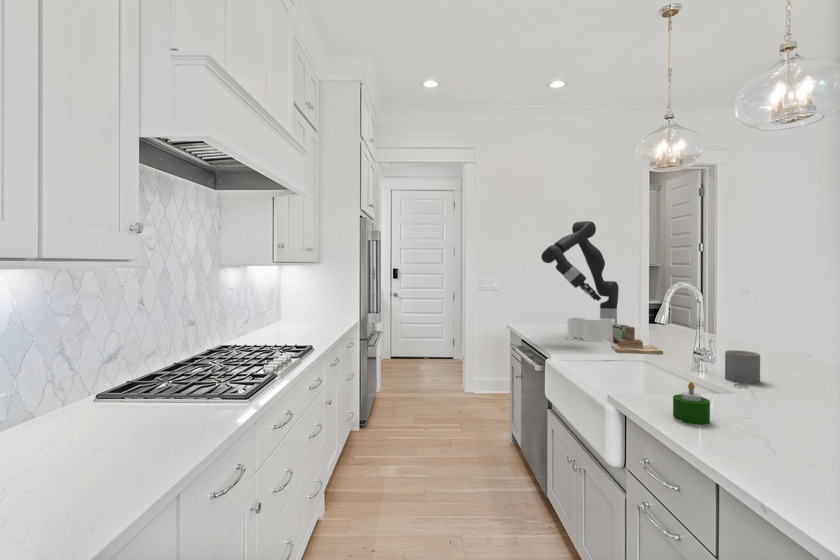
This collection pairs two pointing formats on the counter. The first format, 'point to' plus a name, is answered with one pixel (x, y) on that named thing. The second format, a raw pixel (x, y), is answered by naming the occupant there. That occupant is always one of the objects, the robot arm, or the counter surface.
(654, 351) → the oak board
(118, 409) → the counter surface
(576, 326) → the pale grey segmented block
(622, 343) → the block
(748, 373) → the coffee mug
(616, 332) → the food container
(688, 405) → the candle
